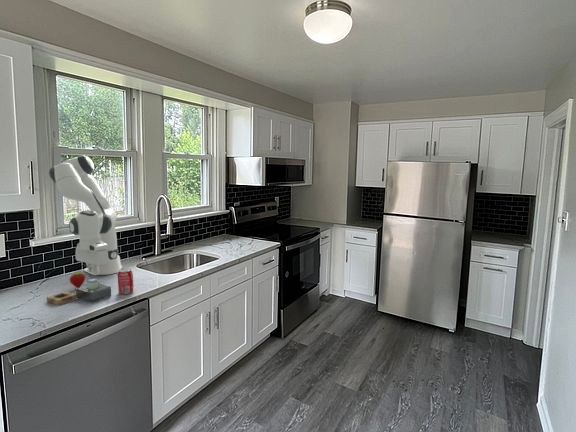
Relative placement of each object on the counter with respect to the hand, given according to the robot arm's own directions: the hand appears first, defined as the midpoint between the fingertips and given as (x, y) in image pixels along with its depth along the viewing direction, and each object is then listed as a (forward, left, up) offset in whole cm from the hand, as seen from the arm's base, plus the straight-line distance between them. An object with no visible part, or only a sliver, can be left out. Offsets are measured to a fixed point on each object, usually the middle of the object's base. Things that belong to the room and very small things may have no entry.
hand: (92, 271), depth 162 cm
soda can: (+8, +12, -13) cm, 20 cm away
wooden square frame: (-9, -10, -13) cm, 19 cm away
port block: (0, 0, -13) cm, 13 cm away
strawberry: (-19, +4, -13) cm, 24 cm away
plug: (0, 0, -13) cm, 13 cm away
